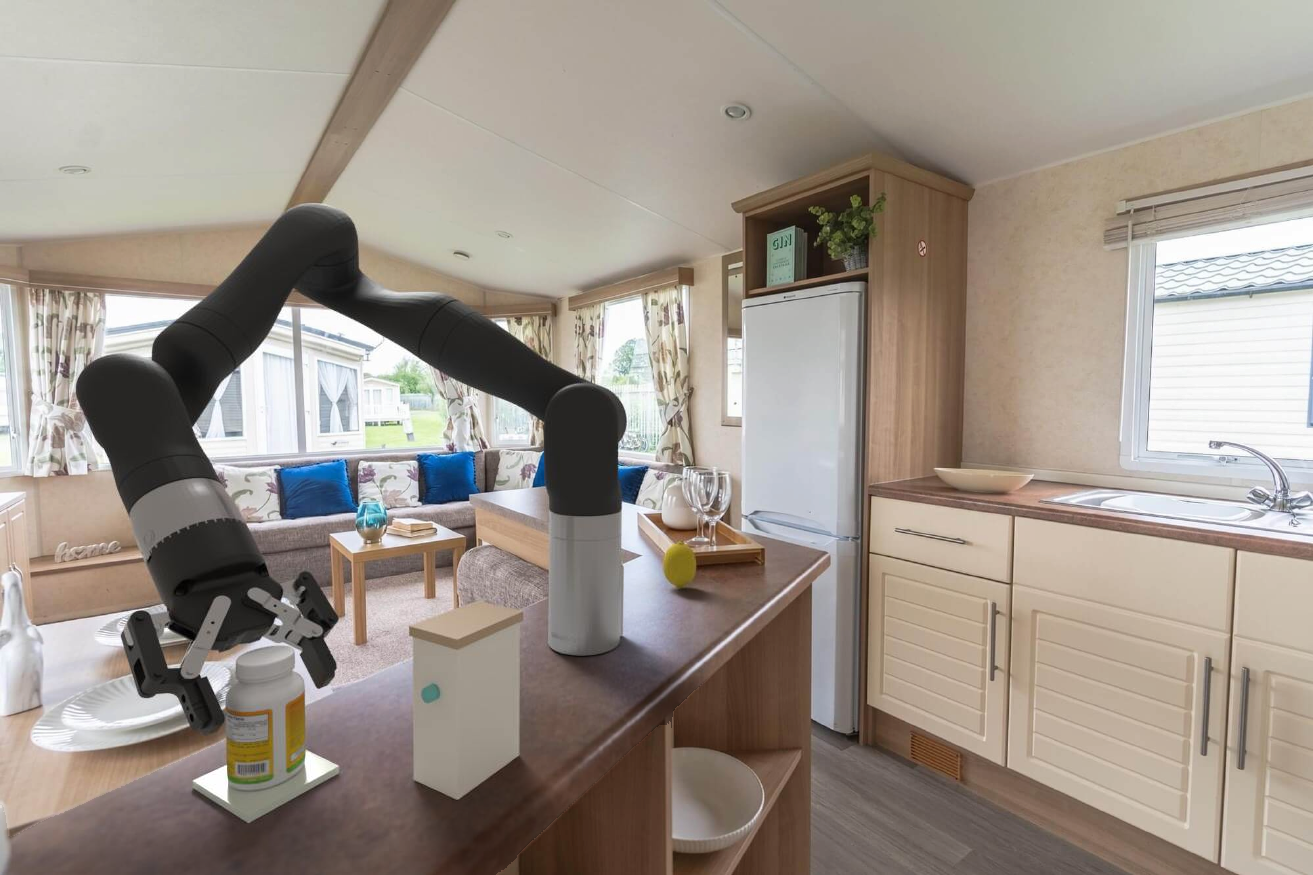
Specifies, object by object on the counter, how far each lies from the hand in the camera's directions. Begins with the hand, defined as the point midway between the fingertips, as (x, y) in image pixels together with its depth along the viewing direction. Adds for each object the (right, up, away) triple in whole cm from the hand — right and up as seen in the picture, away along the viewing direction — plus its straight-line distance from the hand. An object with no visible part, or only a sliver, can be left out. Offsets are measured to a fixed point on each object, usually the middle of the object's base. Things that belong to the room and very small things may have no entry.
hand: (275, 704), depth 48 cm
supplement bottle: (-1, -6, +1) cm, 6 cm away
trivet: (-1, -7, +1) cm, 7 cm away
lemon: (+34, -5, +54) cm, 64 cm away
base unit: (+14, -7, +3) cm, 16 cm away
